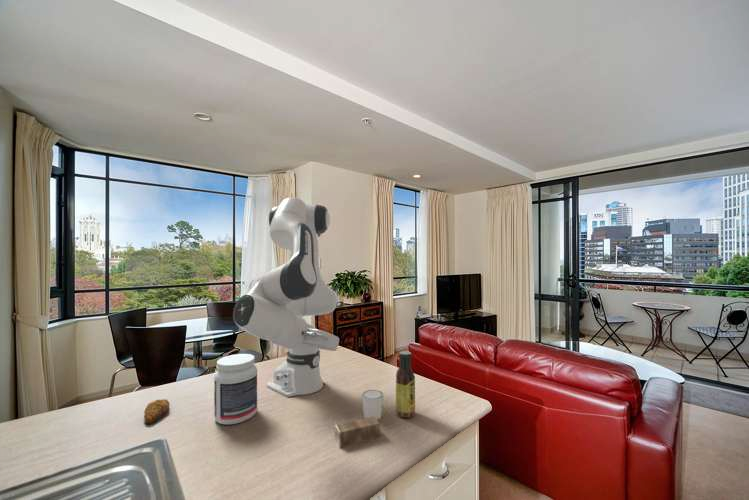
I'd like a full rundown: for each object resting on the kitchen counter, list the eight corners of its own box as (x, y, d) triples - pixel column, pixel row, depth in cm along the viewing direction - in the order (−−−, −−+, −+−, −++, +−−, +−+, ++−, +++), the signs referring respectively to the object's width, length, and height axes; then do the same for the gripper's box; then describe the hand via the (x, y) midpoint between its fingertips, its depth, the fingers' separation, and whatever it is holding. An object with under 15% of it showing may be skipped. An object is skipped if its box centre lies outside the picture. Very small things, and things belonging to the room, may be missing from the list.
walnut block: (339, 432, 83) (379, 423, 88) (335, 425, 87) (374, 416, 92) (339, 447, 83) (379, 437, 88) (335, 439, 87) (374, 429, 92)
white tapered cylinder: (385, 412, 102) (385, 391, 102) (379, 423, 95) (379, 400, 95) (366, 408, 104) (366, 388, 104) (358, 419, 98) (358, 397, 98)
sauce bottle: (414, 420, 97) (414, 356, 97) (394, 418, 98) (394, 355, 98) (415, 409, 103) (415, 350, 103) (397, 408, 104) (397, 349, 105)
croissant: (153, 406, 106) (153, 392, 107) (175, 404, 108) (176, 389, 108) (135, 428, 93) (135, 411, 94) (160, 424, 95) (160, 408, 95)
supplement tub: (265, 410, 103) (266, 355, 103) (233, 431, 91) (233, 368, 92) (238, 403, 108) (238, 350, 109) (204, 421, 97) (204, 362, 97)
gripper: (323, 322, 77) (353, 338, 87) (270, 317, 88) (302, 332, 98) (315, 347, 74) (347, 361, 84) (261, 339, 85) (295, 352, 95)
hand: (323, 346), depth 91 cm, fingers closed
